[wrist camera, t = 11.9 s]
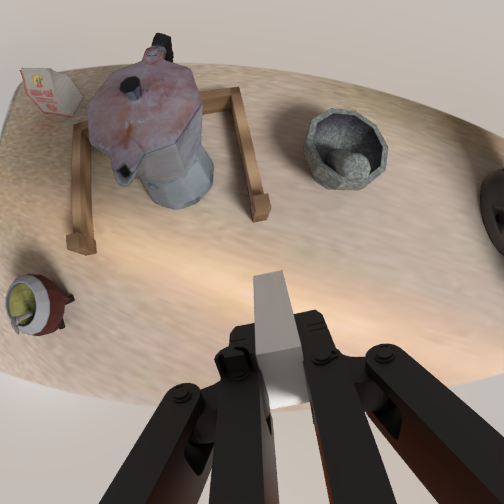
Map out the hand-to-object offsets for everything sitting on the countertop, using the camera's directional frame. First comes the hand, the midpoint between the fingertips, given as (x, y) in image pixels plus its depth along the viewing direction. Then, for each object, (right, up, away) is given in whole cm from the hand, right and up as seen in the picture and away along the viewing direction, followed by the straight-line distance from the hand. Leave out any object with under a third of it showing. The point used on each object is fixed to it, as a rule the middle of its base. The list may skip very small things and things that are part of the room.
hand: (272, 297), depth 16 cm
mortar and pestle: (+9, +12, +23) cm, 27 cm away
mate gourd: (-26, -5, +18) cm, 32 cm away
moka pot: (-10, +12, +22) cm, 27 cm away
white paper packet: (-31, +25, +22) cm, 46 cm away
